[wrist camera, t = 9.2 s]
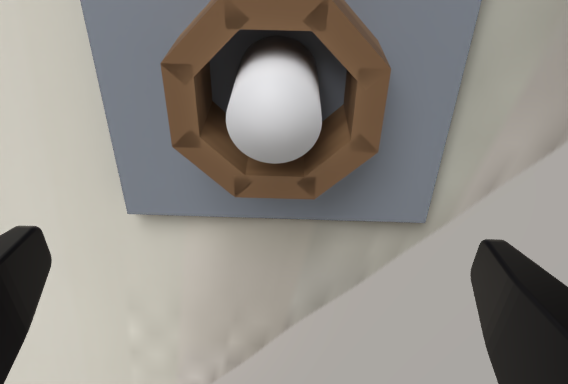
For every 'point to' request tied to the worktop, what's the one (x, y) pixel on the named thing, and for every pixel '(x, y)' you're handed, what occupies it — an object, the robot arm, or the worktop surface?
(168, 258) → the worktop surface
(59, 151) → the worktop surface
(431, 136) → the post plate
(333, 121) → the walnut ring
